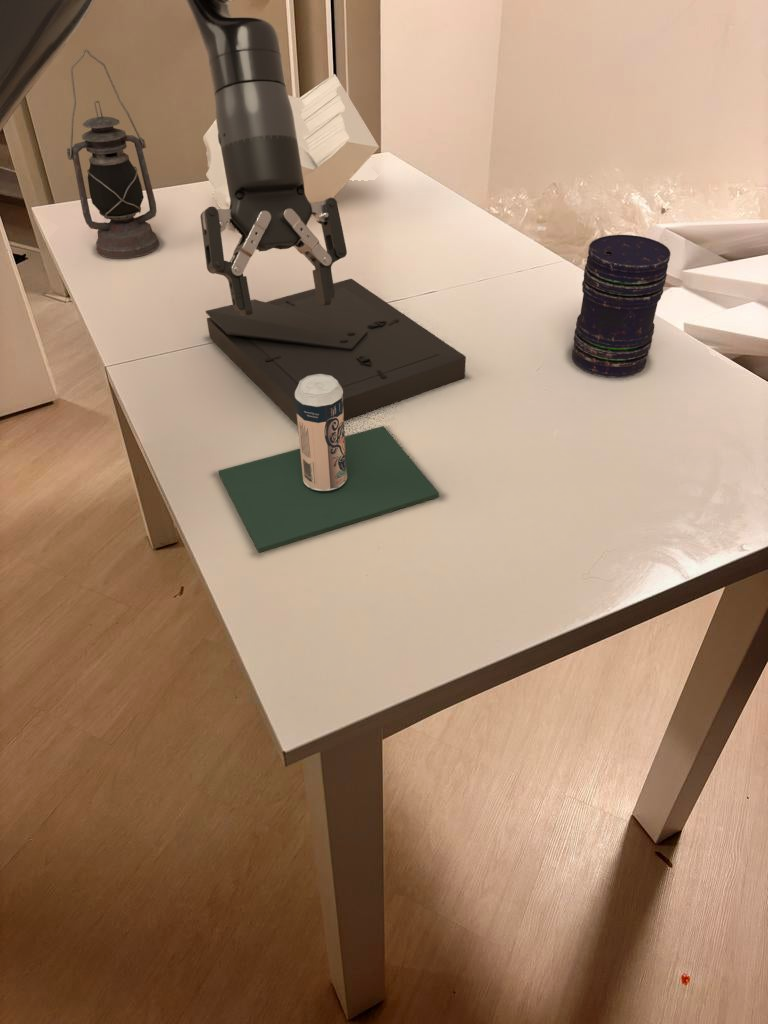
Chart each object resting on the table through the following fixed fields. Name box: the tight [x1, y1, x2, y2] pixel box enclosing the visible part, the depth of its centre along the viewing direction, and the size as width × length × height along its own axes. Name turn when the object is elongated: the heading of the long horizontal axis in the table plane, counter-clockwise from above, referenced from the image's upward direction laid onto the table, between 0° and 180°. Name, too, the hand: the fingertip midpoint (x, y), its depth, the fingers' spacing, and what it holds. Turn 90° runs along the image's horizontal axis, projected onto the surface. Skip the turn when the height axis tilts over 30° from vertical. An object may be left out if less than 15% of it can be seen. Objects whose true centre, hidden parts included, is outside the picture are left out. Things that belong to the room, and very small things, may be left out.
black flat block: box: [205, 278, 467, 427], centre depth 107 cm, size 23×4×28 cm
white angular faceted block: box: [202, 73, 380, 209], centre depth 142 cm, size 20×16×25 cm
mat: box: [218, 425, 440, 553], centre depth 87 cm, size 20×14×1 cm
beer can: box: [295, 374, 347, 491], centre depth 83 cm, size 5×5×12 cm
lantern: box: [66, 49, 160, 260], centre depth 129 cm, size 12×11×30 cm
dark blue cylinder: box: [571, 234, 672, 379], centre depth 102 cm, size 10×10×15 cm
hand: (286, 310), depth 83 cm, fingers open, 8 cm apart
